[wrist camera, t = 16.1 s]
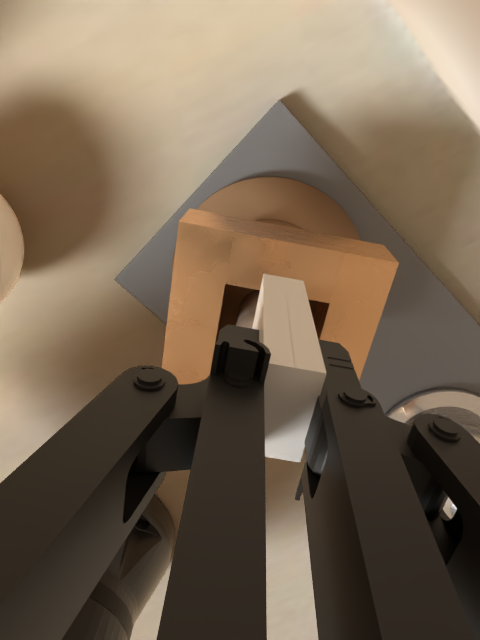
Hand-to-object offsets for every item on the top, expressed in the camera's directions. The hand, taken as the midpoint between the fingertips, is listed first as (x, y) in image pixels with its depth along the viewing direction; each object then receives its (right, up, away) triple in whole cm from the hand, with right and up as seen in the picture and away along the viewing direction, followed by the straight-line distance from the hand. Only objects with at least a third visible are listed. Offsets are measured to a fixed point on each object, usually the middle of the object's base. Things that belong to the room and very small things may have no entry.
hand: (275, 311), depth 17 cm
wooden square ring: (0, 0, +8) cm, 8 cm away
